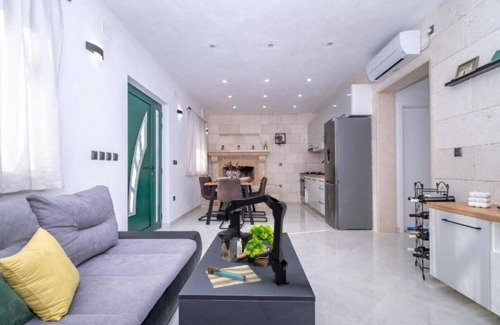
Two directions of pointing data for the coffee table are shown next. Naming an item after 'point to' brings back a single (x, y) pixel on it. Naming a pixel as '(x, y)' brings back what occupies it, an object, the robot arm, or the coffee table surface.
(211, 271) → the keeper
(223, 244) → the coffee box
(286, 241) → the coffee table surface
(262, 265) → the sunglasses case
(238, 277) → the link bar
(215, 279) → the base board
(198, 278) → the coffee table surface
